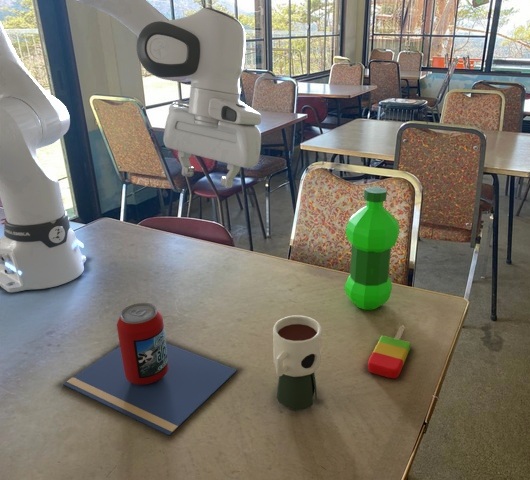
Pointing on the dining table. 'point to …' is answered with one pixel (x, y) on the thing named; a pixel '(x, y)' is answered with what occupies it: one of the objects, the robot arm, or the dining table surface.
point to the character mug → (296, 360)
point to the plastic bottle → (371, 251)
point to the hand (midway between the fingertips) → (206, 181)
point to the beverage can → (142, 343)
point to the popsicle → (389, 355)
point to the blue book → (154, 387)
